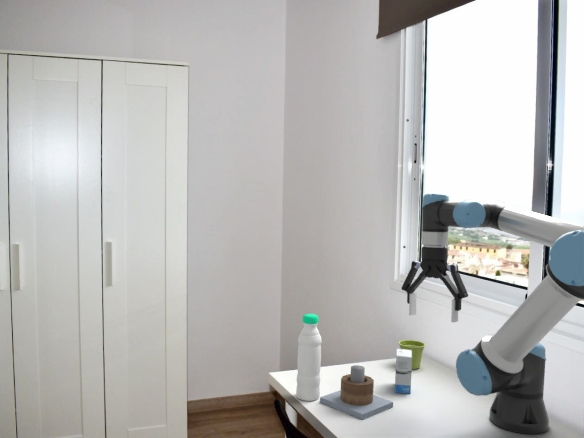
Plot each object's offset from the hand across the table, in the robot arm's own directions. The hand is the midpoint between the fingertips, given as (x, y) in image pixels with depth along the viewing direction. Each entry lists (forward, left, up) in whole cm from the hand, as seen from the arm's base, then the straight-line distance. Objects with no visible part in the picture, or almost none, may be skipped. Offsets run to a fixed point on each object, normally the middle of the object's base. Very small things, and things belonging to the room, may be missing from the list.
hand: (433, 318), depth 162 cm
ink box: (+13, -5, -26) cm, 29 cm away
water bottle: (+27, +24, -26) cm, 44 cm away
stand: (+14, +17, -26) cm, 34 cm away
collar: (+13, +17, -24) cm, 33 cm away
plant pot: (+24, -26, -26) cm, 43 cm away
